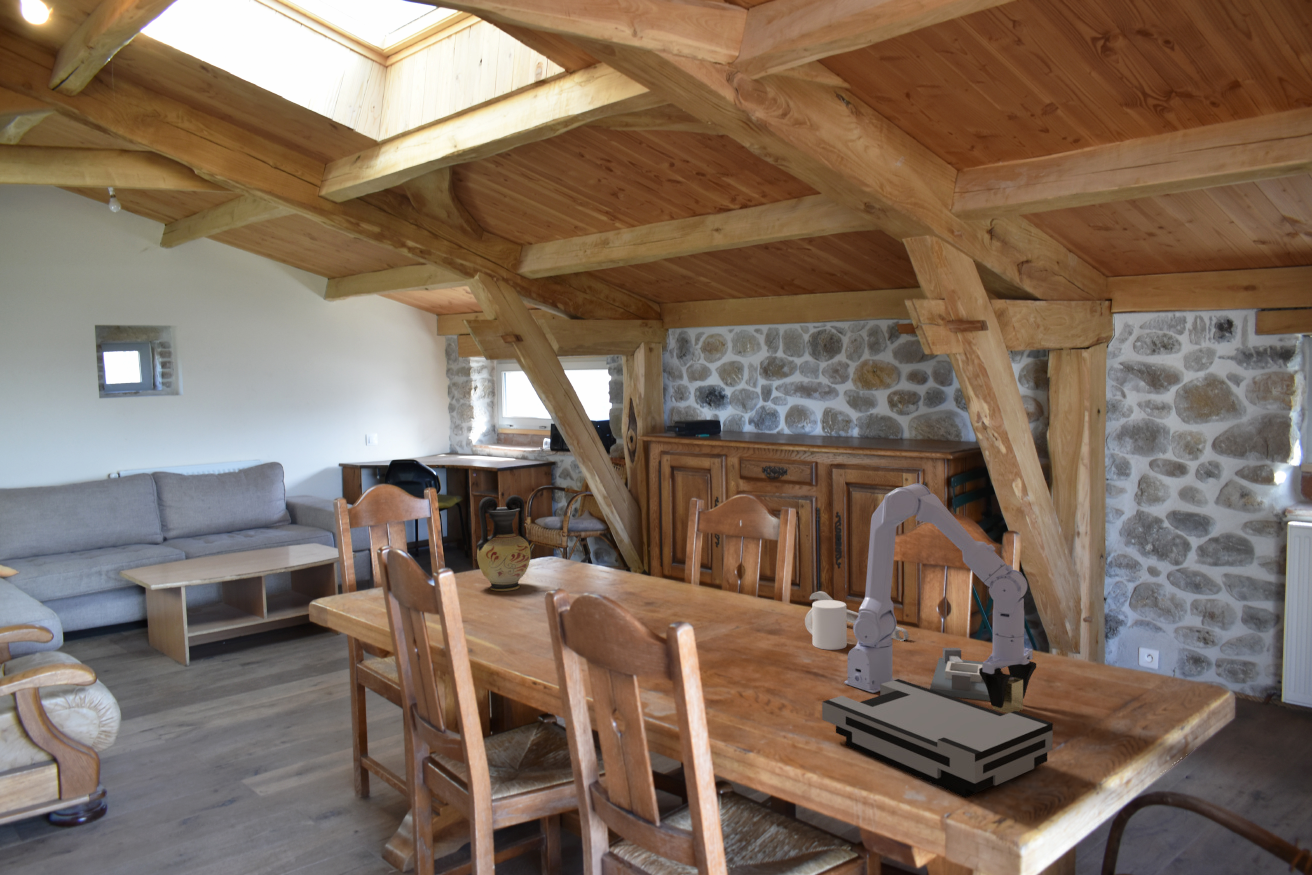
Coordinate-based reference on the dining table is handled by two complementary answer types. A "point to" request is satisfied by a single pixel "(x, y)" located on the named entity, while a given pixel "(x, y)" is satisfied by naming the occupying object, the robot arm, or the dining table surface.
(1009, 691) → the block
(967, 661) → the base
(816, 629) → the mug
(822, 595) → the wrench
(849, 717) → the game console
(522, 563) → the amphora
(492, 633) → the dining table surface
